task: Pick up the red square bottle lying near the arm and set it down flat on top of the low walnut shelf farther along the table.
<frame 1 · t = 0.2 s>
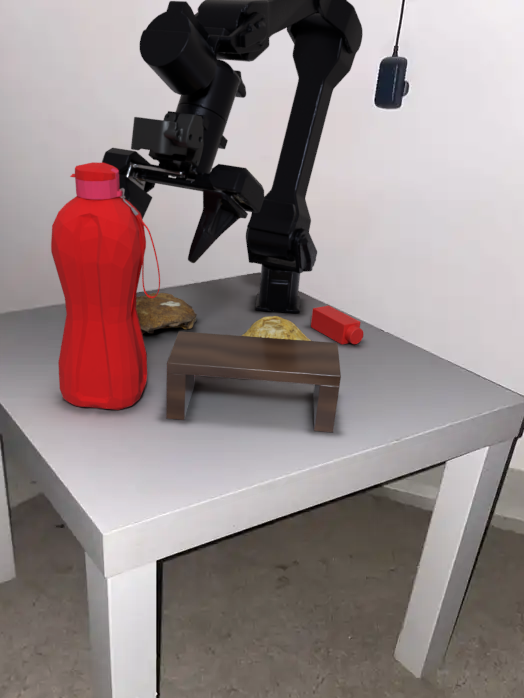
hand: (156, 254, 86), 15 cm above the table, tool tilted 30°, fingers open, 9 cm apart
water bottle: (111, 396, 89), on the table
fossil: (273, 357, 100), on the table
red square bottle: (333, 334, 106), on the table
decorative rock: (143, 329, 106), on the table
shelf: (251, 406, 87), on the table
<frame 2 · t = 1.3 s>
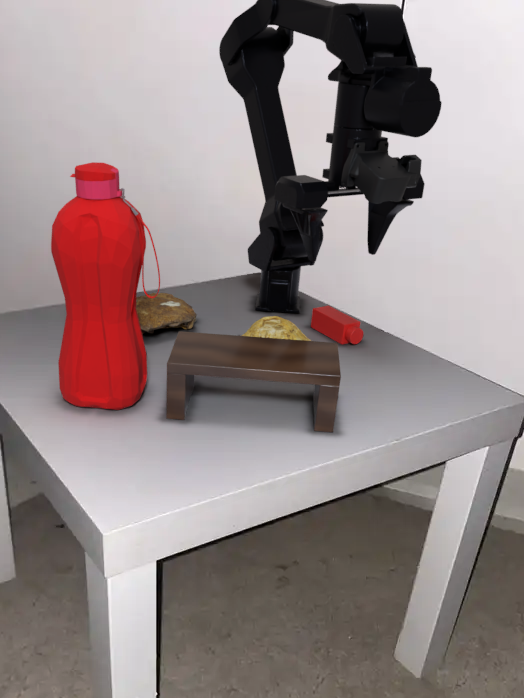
hand: (342, 257, 100), 11 cm above the table, tool pointing down, fingers open, 9 cm apart
nothing on the table moved.
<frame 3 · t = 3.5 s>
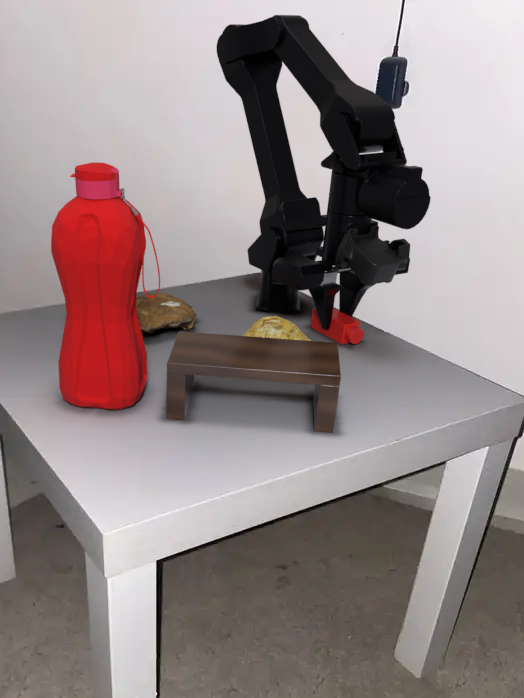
hand: (334, 327, 106), 1 cm above the table, tool pointing down, fingers closed on red square bottle, 3 cm apart
red square bottle: (333, 334, 106), on the table, touching gripper
everything else where it was.
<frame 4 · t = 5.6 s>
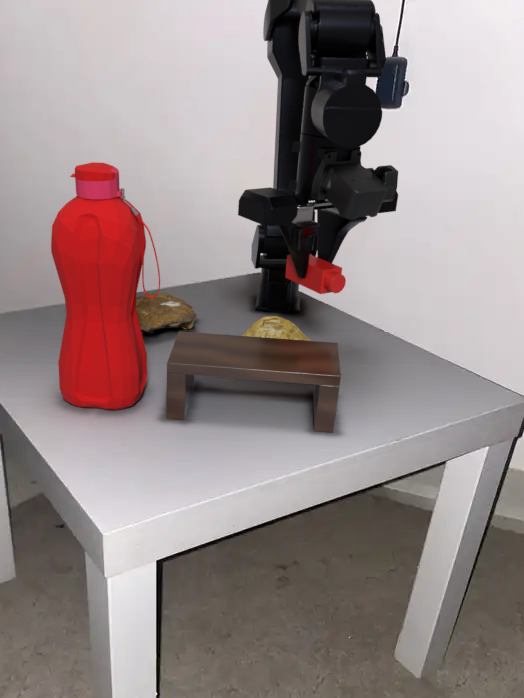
hand: (312, 276, 92), 11 cm above the table, tool pointing down, fingers closed on red square bottle, 3 cm apart
red square bottle: (311, 284, 92), point 10 cm above the table, touching gripper
everything else where it was.
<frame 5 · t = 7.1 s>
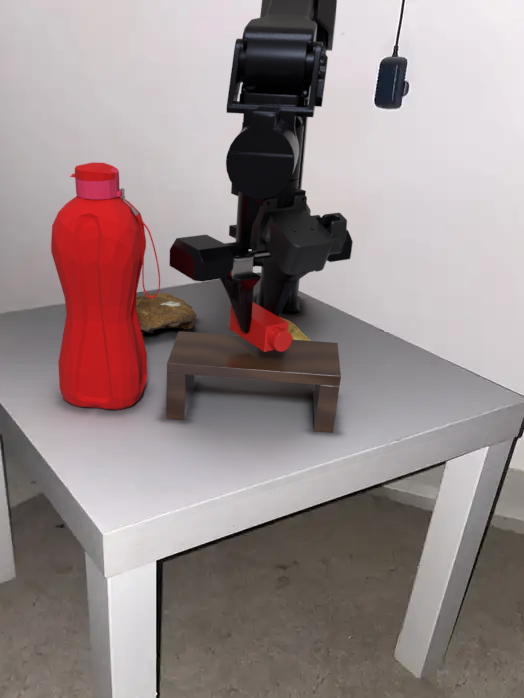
hand: (257, 329, 82), 9 cm above the table, tool pointing down, fingers closed on red square bottle, 3 cm apart
red square bottle: (257, 338, 83), point 8 cm above the table, touching gripper
everything else where it was.
when the fingers open (8 cm above the table, at t = 7.9 s): red square bottle stays where it is, resting on shelf.
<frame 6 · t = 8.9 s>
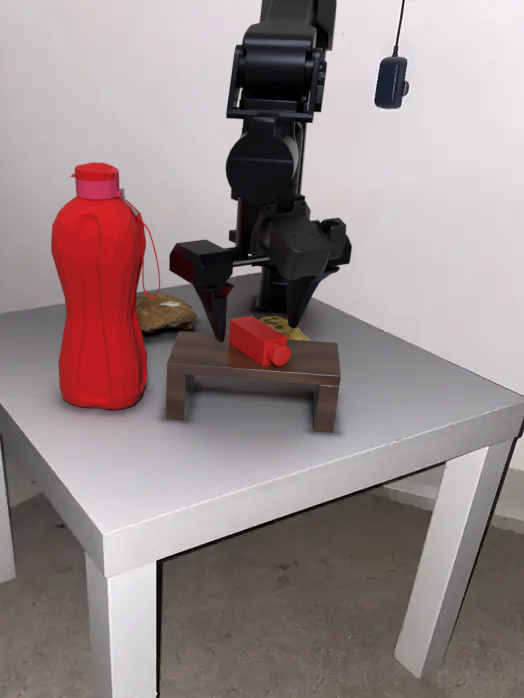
hand: (256, 334, 82), 9 cm above the table, tool pointing down, fingers open, 9 cm apart
red square bottle: (256, 352, 83), point 7 cm above the table, touching shelf
everything else where it was.
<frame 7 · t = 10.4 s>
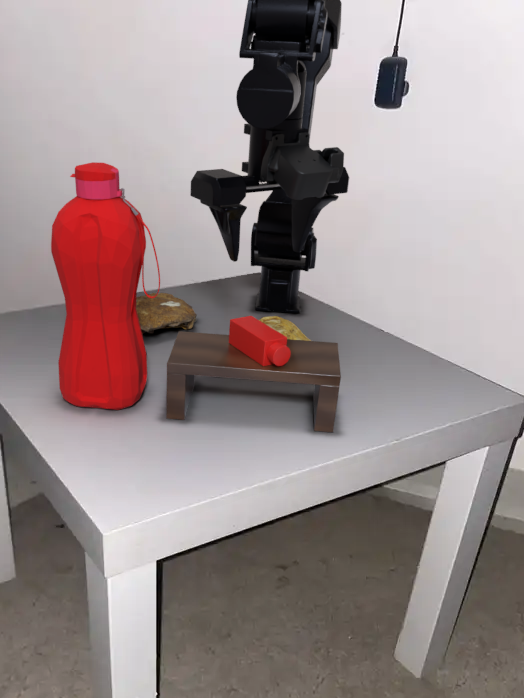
hand: (265, 256, 94), 12 cm above the table, tool pointing down, fingers open, 9 cm apart
nothing on the table moved.
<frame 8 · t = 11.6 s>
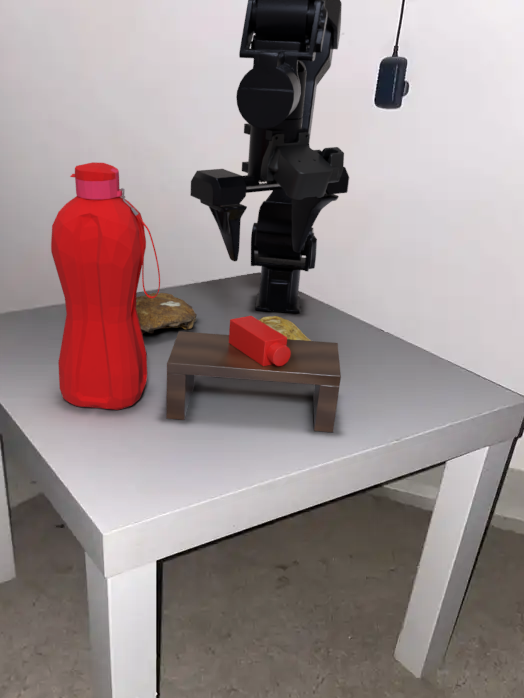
hand: (265, 256, 94), 13 cm above the table, tool pointing down, fingers open, 9 cm apart
nothing on the table moved.
at the end: red square bottle inside the target area on the shelf (0.1 cm from its centre), point 6.6 cm above the shelf's base; the gripper is holding nothing; red square bottle tilted 0° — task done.
